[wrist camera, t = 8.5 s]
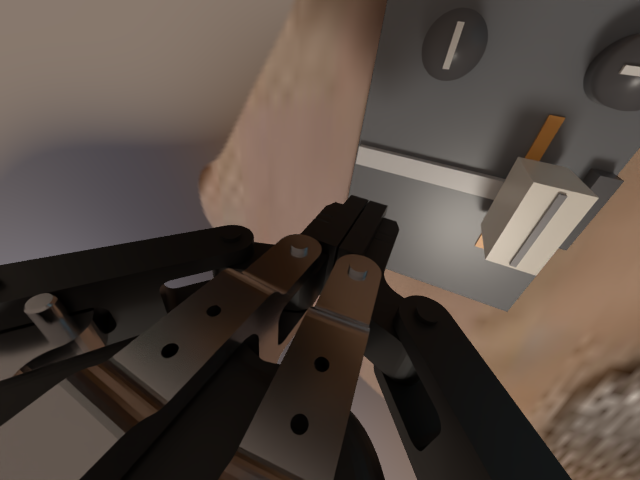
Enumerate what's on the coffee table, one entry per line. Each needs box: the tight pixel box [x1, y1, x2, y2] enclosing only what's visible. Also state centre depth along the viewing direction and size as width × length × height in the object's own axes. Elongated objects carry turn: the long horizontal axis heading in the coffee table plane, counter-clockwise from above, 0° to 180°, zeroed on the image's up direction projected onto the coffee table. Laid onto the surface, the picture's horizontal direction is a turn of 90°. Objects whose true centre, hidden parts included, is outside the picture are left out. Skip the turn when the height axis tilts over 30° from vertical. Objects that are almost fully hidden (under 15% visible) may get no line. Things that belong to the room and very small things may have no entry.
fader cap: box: [481, 157, 599, 276], centre depth 14 cm, size 4×2×4 cm, turn 173°
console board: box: [348, 0, 640, 311], centre depth 17 cm, size 18×14×4 cm
